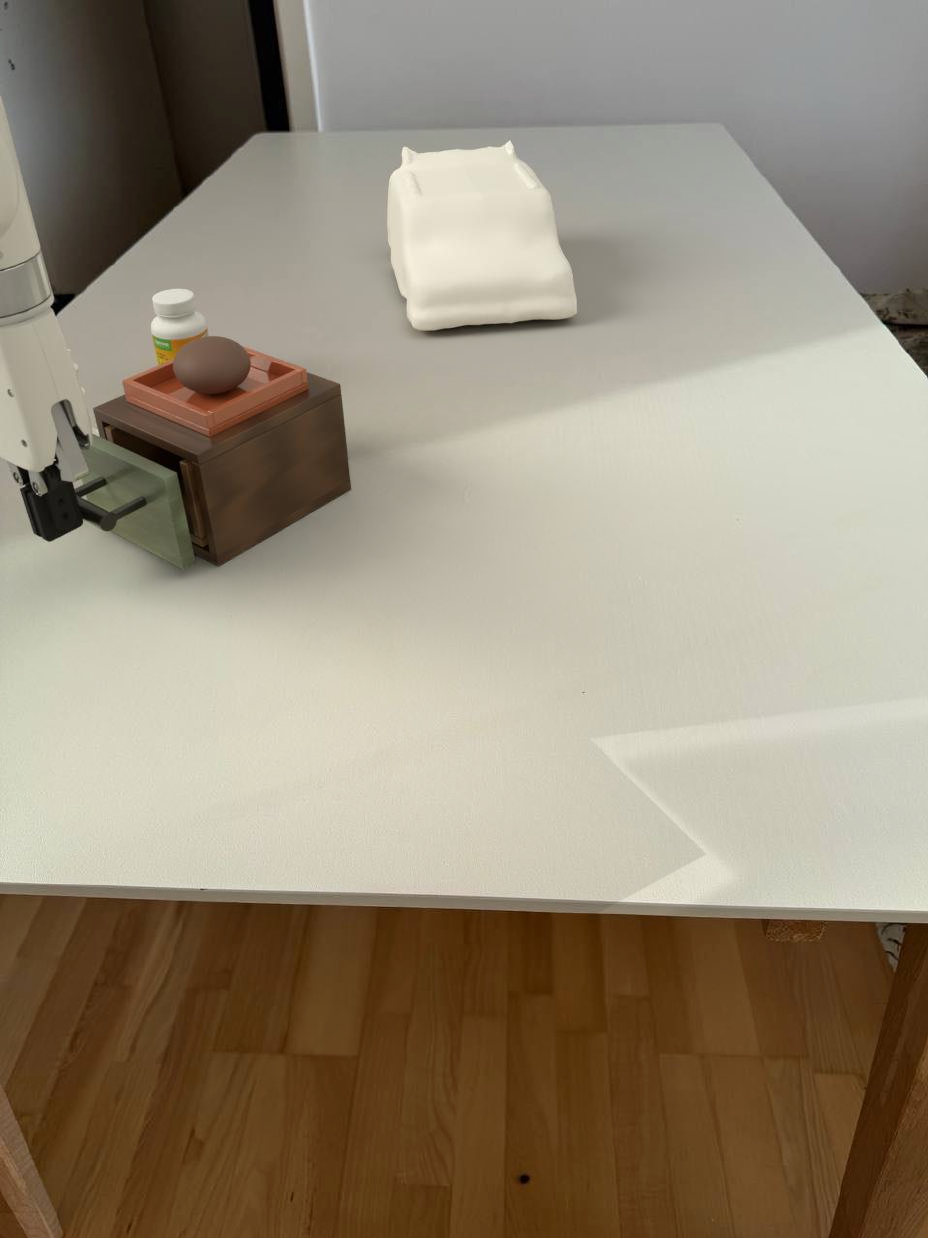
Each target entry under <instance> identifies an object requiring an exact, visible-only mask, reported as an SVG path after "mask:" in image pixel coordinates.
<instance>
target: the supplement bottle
mask: <svg viewBox="0 0 928 1238" xmlns="http://www.w3.org/2000/svg"><path fill="white" fill-rule="evenodd" d="M151 301H152V307H153V311H154V313H155V315H156V316H155V317H153V320H152V321H151V323H150V331H151V332H150V333H151V337H152V342H153V347H154V351H155V357H156V361H157V366H158V365H161V364H163V363H165V362H168V361H170V360H172V359H174V358H175V356H176V354H177V353H178V351H179V350H180V349H181V348H182V347H183V346H184V345H185V344H187V343H189V342H190V341H192V340H195V339H198V338H201V337H207V336H210V335H209V330H208V324H207V321H206V318H205V316H204V315H203V314H202V313H200V312H199V311H196V309H197V302H196V297H195V293H194V291H192V290H190V289H187V288H186V289H185V288H170V289H165V290H161V291H158V292H157V293H155V294H153V296H152V298H151Z"/></svg>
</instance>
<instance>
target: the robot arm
mask: <svg viewBox="0 0 928 1238" xmlns="http://www.w3.org/2000/svg"><path fill="white" fill-rule="evenodd" d="M46 266H47V265H46V262H45V258H44V255H43V251H42V247H41V243H40V239H39V236H38V232H37V228H36V223H35V220H34V216H33V212H32V209H31V205H30V202H29V197H28V194H27V189H26V186H25V182H24V178H23V174H22V170H21V167H20V162H19V159H18V155H17V151H16V147H15V144H14V140H13V135H12V132H11V128H10V124H9V120H8V116H7V113H6V108H5V106H4V102H3V99H2V96H1V94H0V458H1V459H3V460H5V461H6V463H7V465H8V468H9V471H10V473H11V477H13V480H14V482H15V483H16V484H17V485H18V486H19V487H21V488H19V491H20V495H21V497H22V501H23V504H24V508H25V511H26V514H27V517H28V520H29V523H30V527H31V529H32V532H33V534H34V535H36V536H37V537H39V538H42V540H44V541H46V542H48V543H50V542H53V541H55V540H57V539H59V538H61V537H63V536H65V535H67V534H70V533H71V532H73V531H75V530H77V529H78V528H81V527H82V526H83V524H84V520H83V518H82V514H81V511H80V507H79V503H78V500H77V496H76V493H75V486H74V482H77V481H79V480H82V478H83V477H85V476H88V475H89V469H88V466H87V464H86V461H85V459H84V456H83V454H82V451H81V449H82V450H88V449H90V448H91V446H92V443H93V434H92V428H91V426H92V424H91V418H90V414H89V409H88V406H87V402H86V399H85V394H84V395H83V392H82V389H81V387H82V386H81V382H80V379H79V375H78V376H77V373H76V370H75V367H74V364H73V363H74V361H73V357H72V355H70V352H69V350H70V349H69V347H68V344H67V341H66V338H65V336H64V334H63V331H62V328H61V326H60V324H59V321H58V319H57V316H56V314H55V311H54V309H53V308H52V307H51V306H52V305H53V304H54V301H55V296H54V292H53V289H52V286H51V281H50V278H49V273H48V270H47V267H46Z"/></svg>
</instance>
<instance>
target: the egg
mask: <svg viewBox="0 0 928 1238" xmlns="http://www.w3.org/2000/svg"><path fill="white" fill-rule="evenodd" d="M242 346H243V345H241V344H240V343H239V342H237V341H235V340H233V339H231V338H229V337H225V336H218V335H209V336H207V337H201V338H198V339H195V340H192V341H190V342H189V343H187V344H185V345H184V346H183V347H182V348H181V349H180V350H179V351H178V353H177V354H176V356H175V358H174V362H173V370H174V374H175V376H176V378H177V379H178V381H179V382H180V383H181V384H182V385H183V386H185V387H186V388H188V389H190V390H192V391H195V392H198V393H202V394H219V393H224V392H227V391H230V390H232V389H234V388H236V387H237V386H239V385H240V384H241V383H242V382H243V381H244V380H245V379H246V378H247V376H248V374H249V371H250V367H251V362H250V357H249V355H248V353H247V351H246V350H245V349H244V348H243V347H244V346H243V347H242Z"/></svg>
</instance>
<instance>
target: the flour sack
mask: <svg viewBox="0 0 928 1238" xmlns="http://www.w3.org/2000/svg"><path fill="white" fill-rule="evenodd" d="M401 161H402V162H401V165H400V167H398V168H397V169H395V170H393V172H392V173H391V175H390V177H389V181H388V189H387V213H386V214H387V216H386V219H387V220H386V221H387V222H386V223H387V224H386V228H387V241H388V246H389V248H390V263H391V267H392V269H393V273H394V276H395V279H396V283H397V286H398V290H399V293H400V295H401V297H403V298H404V299H405V300H406V318H407V320H408V321H409V322H410V324H411V326H412V328H413V329H415V330H416V331H424V332H425V331H426V332H427V331H428V332H429V331H438V330H443V329H452V328H457V327H463V326H481V325H491V324H493V325H497V324H513V323H517V322H525V321H532V320H533V321H534V320H565V319H570V318H572V317H574V316H575V315H577V314H578V299H577V294H576V289H575V283H574V275H573V269H572V266H571V264H570V261H568V259H567V257H566V256H565V254H564V252H563V249H562V247H561V245H560V241H559V237H558V236H559V235H558V230H557V223H556V216H555V211H554V206H553V199H552V196H551V194H550V191H548V189H547V188H546V187H545V186H544V184H543V183H542V181H541V180H540V179H539V177H538V175H537V174H536V173H535V171H534V170H533V169H532V168H531V167H530V166H529V165H528V164H527V162H525V161H523V160H521V159H520V158H519V157H517V154H516V151H515V147H514V145H513V143H512V141H511V140H509V141H507V142H506V143H505V144H503V145H501V146H490V145H488V146H487V147H480V148H476V149H460V148H455V149H447V150H441V151H429V152H428V151H427V152H421V153H420V152H416V151H415V150H412V149H411V148H409V147H408V146H403V147H402V150H401Z"/></svg>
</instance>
